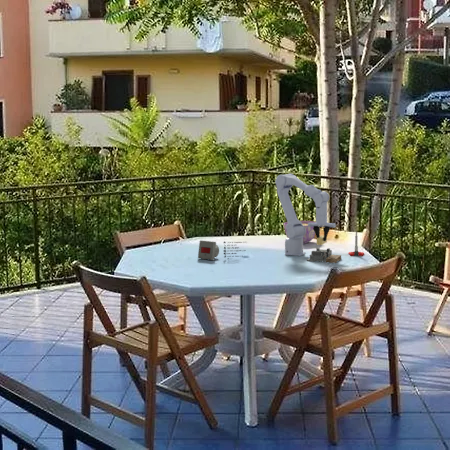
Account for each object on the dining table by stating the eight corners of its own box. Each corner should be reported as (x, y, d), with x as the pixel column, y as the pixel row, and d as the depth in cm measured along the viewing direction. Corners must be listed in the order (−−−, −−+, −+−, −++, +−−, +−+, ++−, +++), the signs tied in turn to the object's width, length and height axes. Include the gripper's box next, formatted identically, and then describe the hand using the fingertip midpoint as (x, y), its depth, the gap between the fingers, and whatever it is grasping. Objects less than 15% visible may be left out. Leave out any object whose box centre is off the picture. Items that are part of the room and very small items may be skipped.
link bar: (316, 244, 415) (316, 238, 414) (321, 241, 423) (321, 235, 423) (322, 244, 414) (322, 238, 413) (326, 242, 422) (326, 235, 421)
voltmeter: (197, 261, 420) (196, 242, 418) (198, 257, 431) (197, 239, 429) (247, 260, 419) (247, 241, 417) (247, 256, 430) (247, 238, 429)
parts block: (326, 262, 407) (326, 258, 407) (331, 258, 417) (331, 254, 417) (335, 262, 405) (335, 259, 405) (341, 258, 415) (341, 255, 415)
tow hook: (348, 253, 432) (348, 256, 423) (348, 230, 430) (348, 232, 421) (364, 253, 430) (364, 256, 421) (364, 230, 429) (364, 232, 420)
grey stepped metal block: (307, 261, 412) (306, 251, 411) (316, 255, 427) (316, 245, 427) (325, 262, 408) (325, 252, 407) (334, 256, 424) (334, 246, 423)
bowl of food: (319, 245, 457) (319, 225, 456) (284, 246, 458) (284, 226, 456) (315, 239, 477) (315, 220, 476) (282, 240, 478) (282, 221, 476)
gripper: (306, 215, 415) (306, 241, 417) (333, 216, 410) (333, 242, 412) (309, 213, 422) (310, 239, 424) (336, 214, 416) (336, 240, 418)
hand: (321, 240), depth 418 cm, fingers closed on link bar, 3 cm apart
